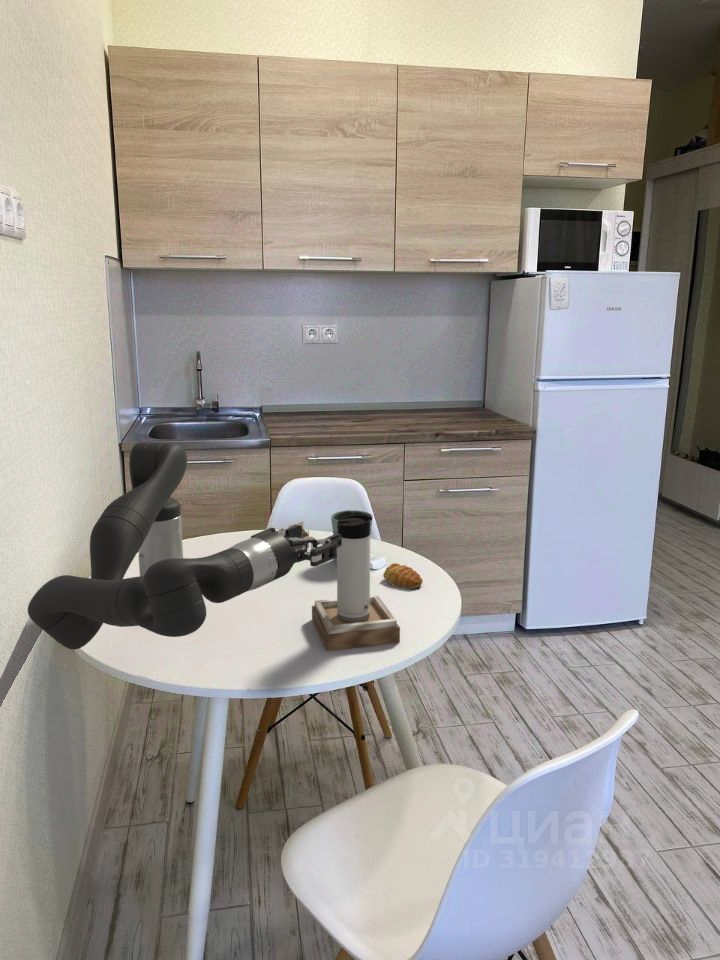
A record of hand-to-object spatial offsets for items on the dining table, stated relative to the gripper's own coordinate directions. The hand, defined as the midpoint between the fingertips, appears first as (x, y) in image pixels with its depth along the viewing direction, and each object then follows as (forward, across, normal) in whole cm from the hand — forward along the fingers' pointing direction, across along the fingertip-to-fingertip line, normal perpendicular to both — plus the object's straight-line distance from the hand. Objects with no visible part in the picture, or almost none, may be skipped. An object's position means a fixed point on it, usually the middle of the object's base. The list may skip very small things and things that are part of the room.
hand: (319, 534), depth 123 cm
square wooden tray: (+11, 0, -23) cm, 25 cm away
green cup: (+43, -23, -24) cm, 54 cm away
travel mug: (+11, 0, -20) cm, 23 cm away
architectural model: (+43, -40, -24) cm, 64 cm away
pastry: (+39, -6, -24) cm, 46 cm away
